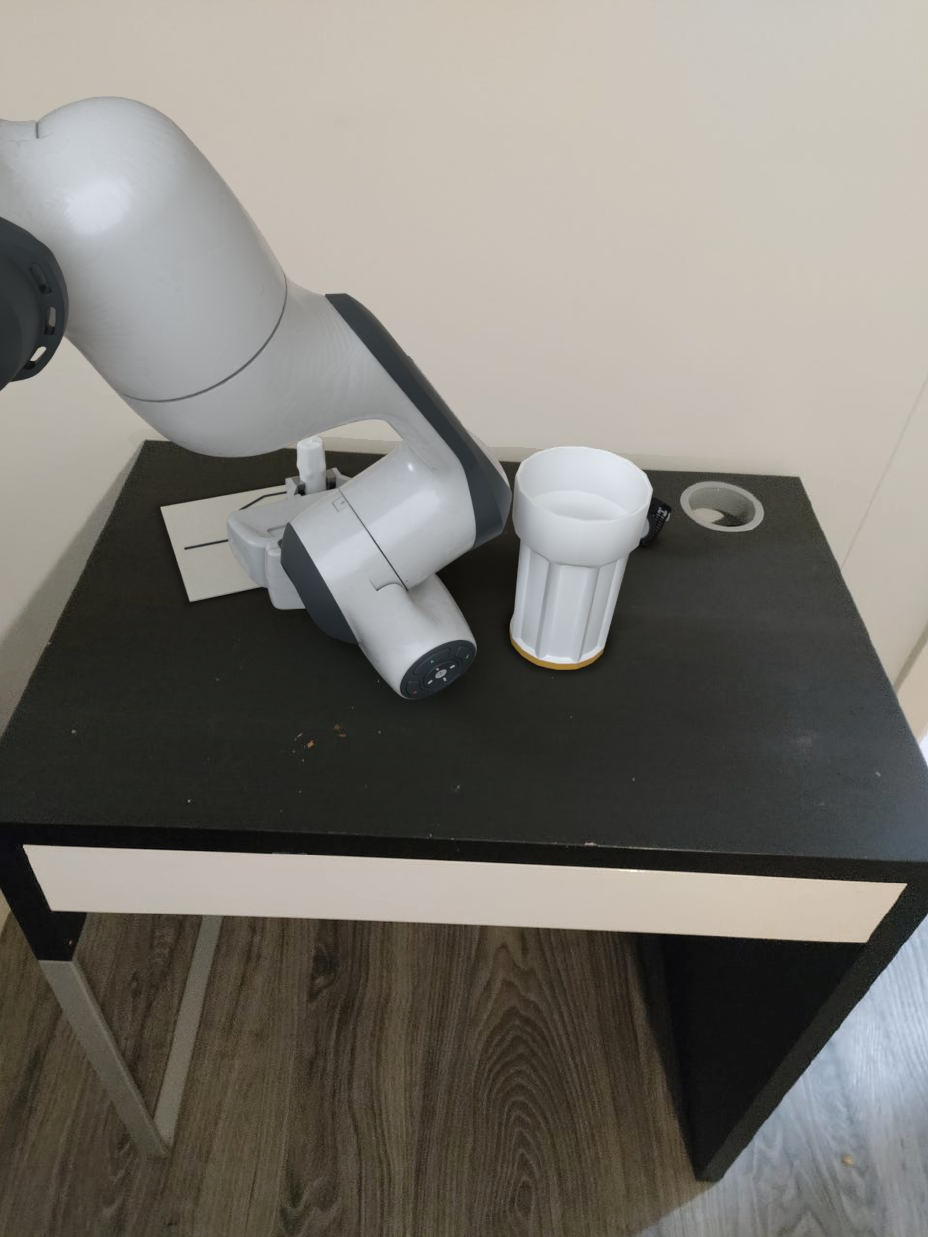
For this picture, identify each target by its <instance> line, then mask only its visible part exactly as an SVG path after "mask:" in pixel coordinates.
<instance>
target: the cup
mask: <svg viewBox="0 0 928 1237" xmlns="http://www.w3.org/2000/svg"><path fill="white" fill-rule="evenodd" d="M517 469H518V470H517V471H516V474H515V476H514V486H513V501H512V502H513V503H512V514H511V515H512V516H511V519H512V523H513V527H514V528H513V529H514V532H515V534H516V535H517V537H518V538H519V539H520V543H519V554H518V564H517V565H518V566H517V577H516V586H515V596H514V597H515V598H514V608H513V609H514V610H513V614H512V616H511V619H510V623H509V638H510V643H511V645H512V646H513V647H514V649H515V650H516V651H517V652H518V653H519V655H521V656H522V657H523V658H525V659H526V660H528V661H529V662H531V663H532V664H534V665H536V666H538V667H539V666H540V667H542V668H546V669H551V670H559V671H563V670H564V671H565V670H566V671H567V670H578V669H581V668H583V667H587V666H589V665H590V664H593V663H594V662H596V660H598V658H600V657H601V656H602V655H603V654H604V650H605V647H606V643H607V638H608V635H609V631H610V626H611V624H612V620H613V616H614V612H615V608H616V605H617V601H618V597H619V593H620V590H621V587H622V583H623V579H624V575H625V571H626V567H627V564H628V561H629V556H630V553H631V552H633V551H634V550H635V549H636V548H637V547H639V546H640V545H639V542H640V538H641V534H642V531H643V527H644V524H645V520H646V516H647V513H648V509H649V505H650V501H651V497H653V492H654V488H653V486H652V484H651V481H650V480H649V477H648V475H647V473H646V472H645V471H643V470H642V469H641V468H640V467H639V466H637V465H636V464H635V463H634V462H633V461H631V460H630V459H628V458H626V457H623V456H621V455H619V454H617V453H614V452H613V451H610V450H606V449H602V448H596V447H590V446H587V445H557V446H553V447H549V448H545V449H542V450H538V451H536V452H535V453H533V454H531V455H530V456H528V457H527V458H525V459H524V460H522V461H521V462H520V464H519V466H518V468H517Z"/></svg>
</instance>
